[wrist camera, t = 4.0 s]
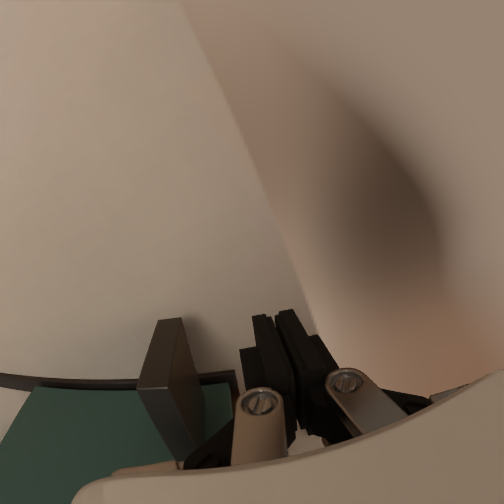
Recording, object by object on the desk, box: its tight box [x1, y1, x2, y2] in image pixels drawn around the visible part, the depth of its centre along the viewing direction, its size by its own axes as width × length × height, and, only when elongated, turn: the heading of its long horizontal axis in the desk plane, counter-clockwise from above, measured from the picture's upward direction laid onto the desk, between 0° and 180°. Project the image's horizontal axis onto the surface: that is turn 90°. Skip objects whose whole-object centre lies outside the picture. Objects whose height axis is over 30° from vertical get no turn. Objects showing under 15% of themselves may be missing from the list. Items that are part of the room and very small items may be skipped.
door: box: [0, 317, 233, 504], centre depth 9 cm, size 6×15×12 cm, turn 97°
